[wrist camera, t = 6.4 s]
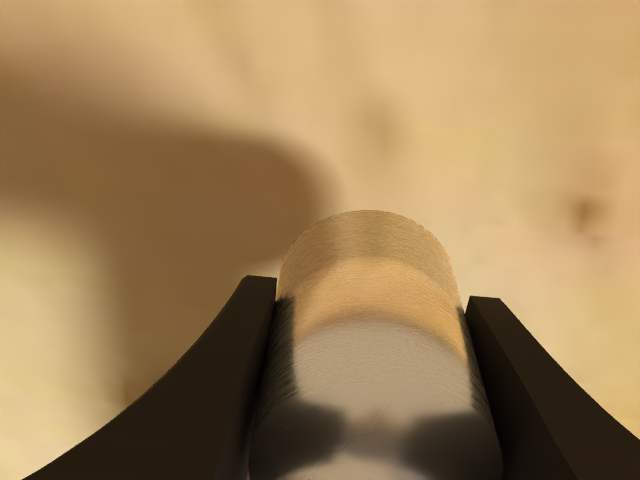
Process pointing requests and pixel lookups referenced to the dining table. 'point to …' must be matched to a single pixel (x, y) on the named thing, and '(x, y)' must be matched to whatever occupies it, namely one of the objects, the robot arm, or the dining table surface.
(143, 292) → the dining table surface
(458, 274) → the dining table surface
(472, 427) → the grey mallet
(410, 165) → the dining table surface
